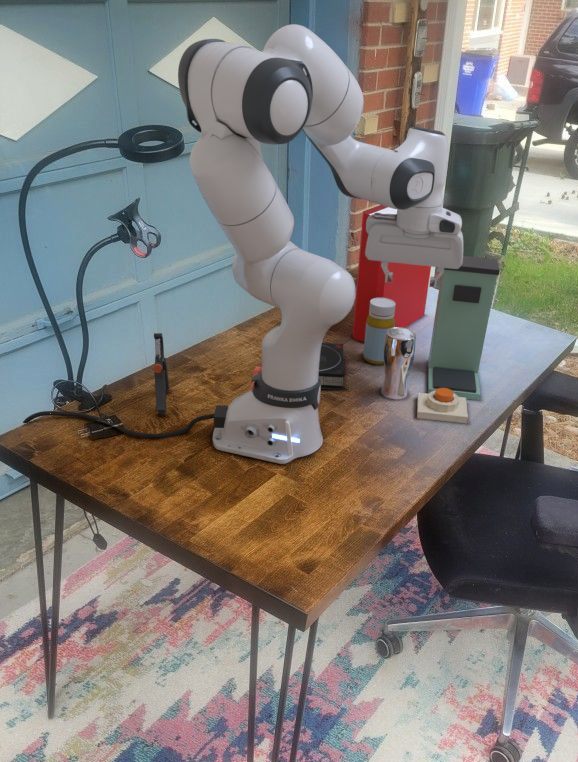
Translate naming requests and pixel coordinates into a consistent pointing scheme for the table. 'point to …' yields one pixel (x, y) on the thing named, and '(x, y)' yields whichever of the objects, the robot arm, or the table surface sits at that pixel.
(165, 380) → the hand grip strengthener
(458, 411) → the control pad
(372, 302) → the bottle
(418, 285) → the book
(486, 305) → the mint green tower
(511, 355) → the table surface
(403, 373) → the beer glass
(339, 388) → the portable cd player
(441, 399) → the button
